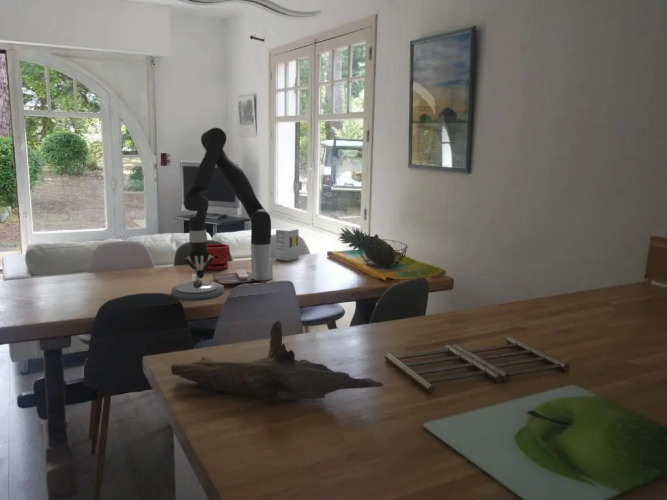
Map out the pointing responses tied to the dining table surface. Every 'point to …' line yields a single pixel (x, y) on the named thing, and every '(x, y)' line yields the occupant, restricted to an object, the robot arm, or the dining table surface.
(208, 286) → the dial
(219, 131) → the robot arm
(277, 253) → the supplement box
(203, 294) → the dial base
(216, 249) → the plant pot
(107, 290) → the dining table surface
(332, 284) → the dining table surface
